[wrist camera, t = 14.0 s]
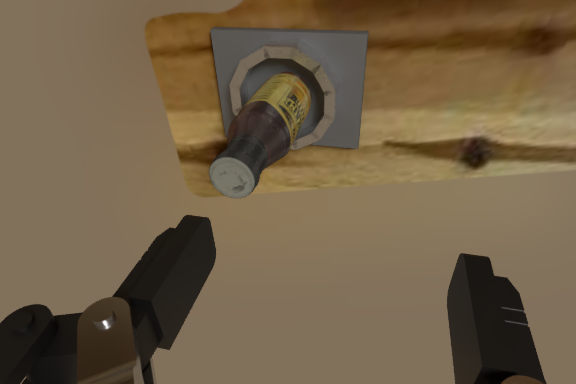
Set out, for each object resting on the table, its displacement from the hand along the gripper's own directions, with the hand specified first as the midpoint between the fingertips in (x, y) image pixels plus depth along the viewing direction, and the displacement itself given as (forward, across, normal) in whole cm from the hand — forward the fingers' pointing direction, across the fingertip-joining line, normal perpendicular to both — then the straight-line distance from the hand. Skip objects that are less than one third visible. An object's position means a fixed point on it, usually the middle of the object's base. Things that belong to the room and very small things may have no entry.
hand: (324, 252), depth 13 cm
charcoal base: (+36, +10, +9) cm, 39 cm away
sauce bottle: (+35, +10, +9) cm, 38 cm away
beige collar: (+35, +10, +9) cm, 37 cm away
